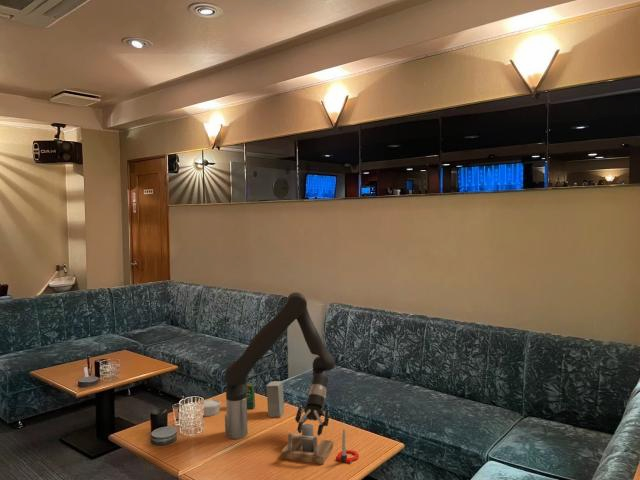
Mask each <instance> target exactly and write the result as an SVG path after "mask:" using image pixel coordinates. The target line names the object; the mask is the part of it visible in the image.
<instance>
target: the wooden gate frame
mask: <svg viewBox="0 0 640 480" xmlns="http://www.w3.org/2000/svg"><path fill="white" fill-rule="evenodd" d="M313 436H314V435H313ZM313 436H305V435H302V434H294V433H288V435H287V444H286V445H285V446H284V448H283V449H282V450H281V460H283V459H284V460H291V461H297V462H303V463H304V462H305V463H312V464H321V465H324V464H325V463H326V461H327V459H328V458H329V456H330V454H331V452H332V451H333V449H334V440H328V439H321V440H320V441H319V444H318V436H314V437H313ZM302 439H308V440H314V452H313V453H310V452H303V451H301V450H302Z"/></svg>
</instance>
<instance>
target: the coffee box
mask: <svg viewBox="0 0 640 480" xmlns="http://www.w3.org/2000/svg"><path fill="white" fill-rule="evenodd" d="M246 394H247V409H251V410H254V409H255V408H256V400H255V399H256V398H255V396H256V395H255V394H256V393H255V383H254V382H247V393H246Z"/></svg>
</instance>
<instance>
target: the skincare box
mask: <svg viewBox="0 0 640 480" xmlns="http://www.w3.org/2000/svg"><path fill="white" fill-rule="evenodd" d="M283 385H284V384H283V381H281V380H278V381H275V380H274V381H272V380H271V381H270V382H268V384H266V386H265V387H266V388H265V389H266V400H267V401H266V402H267V403H266V404H267V417H270V418H271V417H272V418H281V416H282V415H283V414H284V412H285V404H284V403H285V402H284V400H285V399H284V389H283V387H284V386H283Z"/></svg>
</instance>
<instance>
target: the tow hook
mask: <svg viewBox="0 0 640 480" xmlns="http://www.w3.org/2000/svg"><path fill="white" fill-rule="evenodd" d="M341 445H342V448H341V451H339V452H338V454H337V456H335V460H336V461H339V462H342V463H348V464H352V463H353V462H354V461H356V460H358V459H359V457H360V455H359V453H358V452H357V451H355V450H351V449H348V450H347V448H346V429H344V428H343V429H342V444H341ZM347 454H351V455H353V457H348V455H347Z"/></svg>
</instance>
